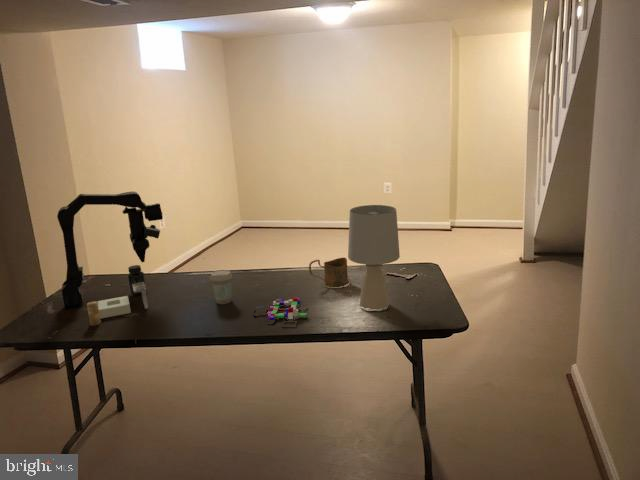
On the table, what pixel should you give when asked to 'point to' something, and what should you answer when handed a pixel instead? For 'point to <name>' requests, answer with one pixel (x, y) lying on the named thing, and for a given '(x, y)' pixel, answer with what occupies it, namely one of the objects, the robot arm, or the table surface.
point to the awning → (141, 288)
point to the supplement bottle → (135, 278)
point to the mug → (334, 272)
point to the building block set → (289, 311)
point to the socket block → (114, 307)
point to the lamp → (373, 249)
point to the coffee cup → (222, 285)
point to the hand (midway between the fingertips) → (142, 259)
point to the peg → (93, 313)
